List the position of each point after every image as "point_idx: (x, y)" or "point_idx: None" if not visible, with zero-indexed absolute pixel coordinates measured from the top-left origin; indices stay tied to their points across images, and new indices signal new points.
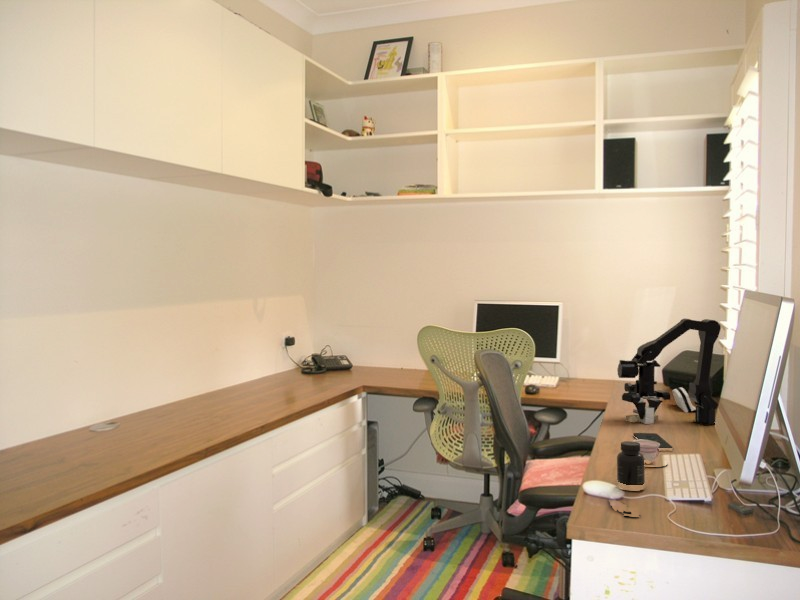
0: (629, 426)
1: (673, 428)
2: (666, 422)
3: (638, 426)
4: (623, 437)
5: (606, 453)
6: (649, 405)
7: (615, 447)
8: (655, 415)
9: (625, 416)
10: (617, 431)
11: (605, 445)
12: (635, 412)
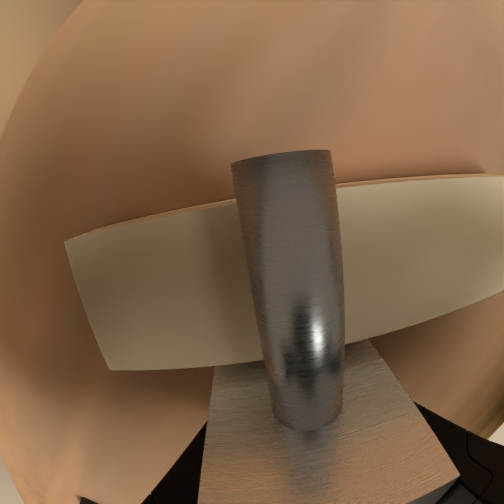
0: (82, 420)
1: None
2: (462, 363)
3: (147, 444)
4: (51, 485)
5: (30, 498)
6: (461, 498)
7: (39, 498)
8: (496, 290)
9: (70, 239)
10: (26, 443)
11: (20, 483)
12: (248, 259)
